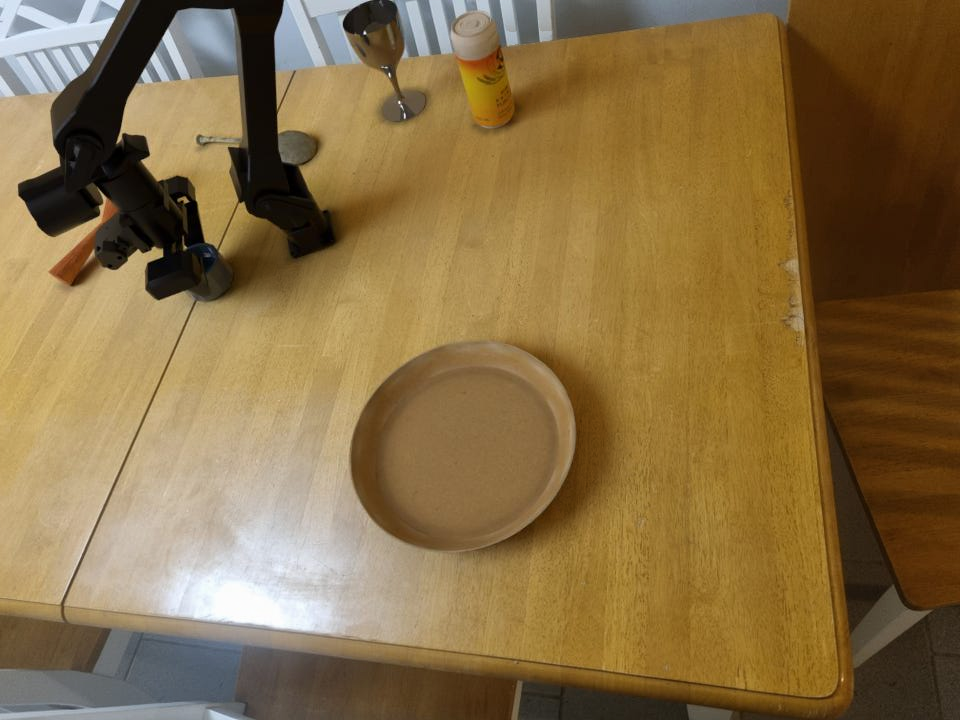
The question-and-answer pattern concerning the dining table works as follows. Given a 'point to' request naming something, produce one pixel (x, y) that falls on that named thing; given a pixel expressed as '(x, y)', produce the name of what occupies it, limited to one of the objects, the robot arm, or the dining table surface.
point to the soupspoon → (280, 145)
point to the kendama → (80, 252)
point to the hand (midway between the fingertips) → (206, 276)
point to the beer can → (482, 68)
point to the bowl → (212, 270)
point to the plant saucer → (462, 446)
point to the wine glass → (383, 52)
